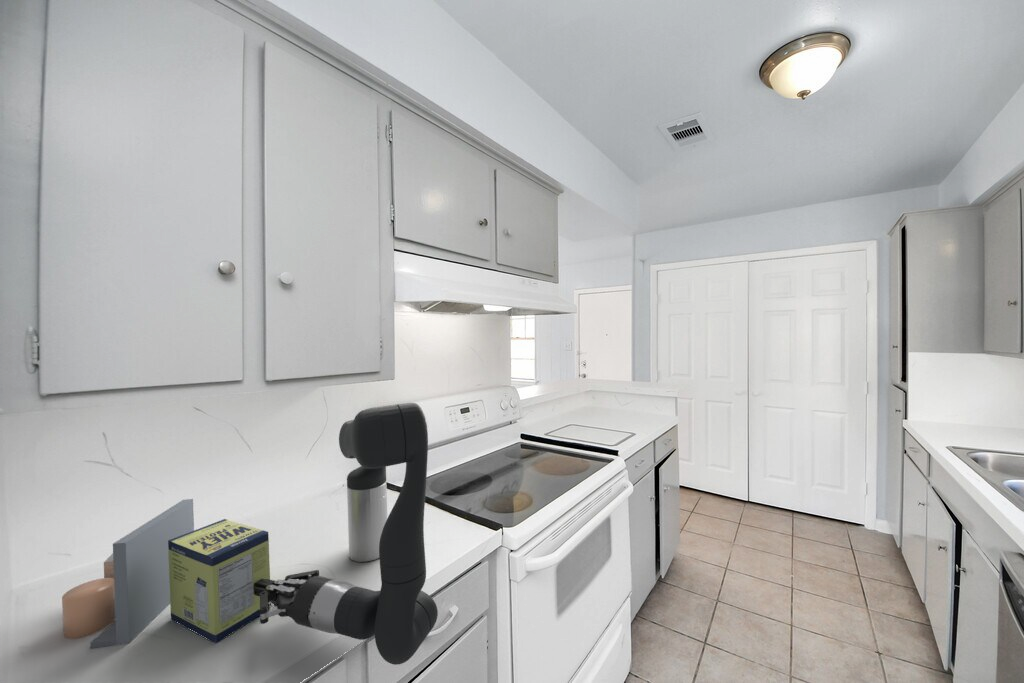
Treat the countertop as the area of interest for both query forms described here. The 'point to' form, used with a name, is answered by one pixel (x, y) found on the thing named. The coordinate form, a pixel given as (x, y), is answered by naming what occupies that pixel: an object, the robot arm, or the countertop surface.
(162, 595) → the display board
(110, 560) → the tea tin
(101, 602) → the tan rounded cylinder
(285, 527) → the countertop surface
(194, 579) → the protein box
